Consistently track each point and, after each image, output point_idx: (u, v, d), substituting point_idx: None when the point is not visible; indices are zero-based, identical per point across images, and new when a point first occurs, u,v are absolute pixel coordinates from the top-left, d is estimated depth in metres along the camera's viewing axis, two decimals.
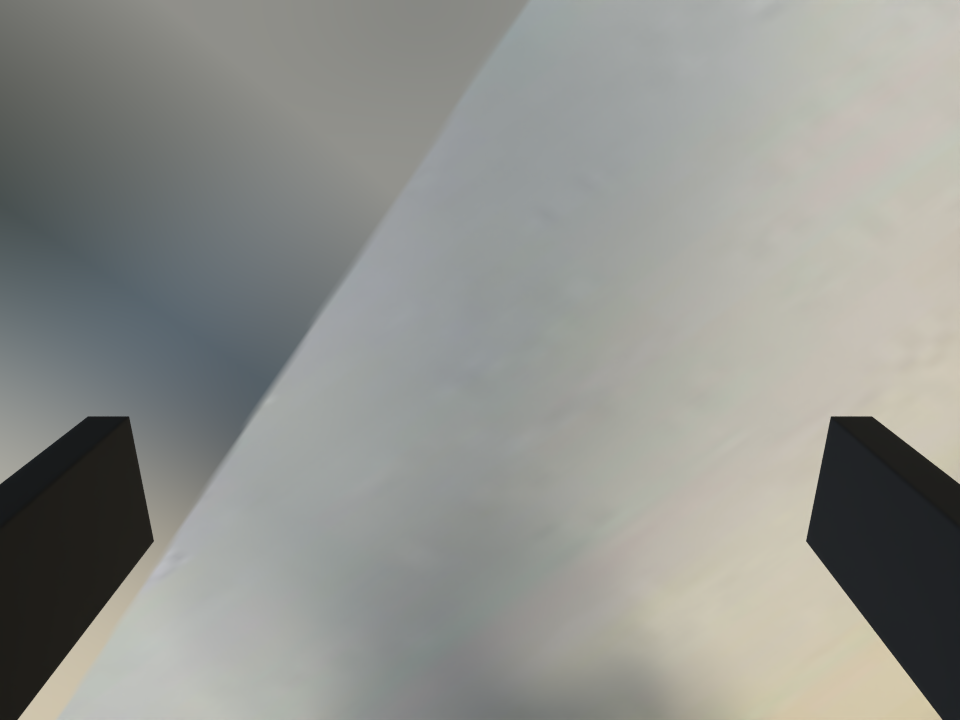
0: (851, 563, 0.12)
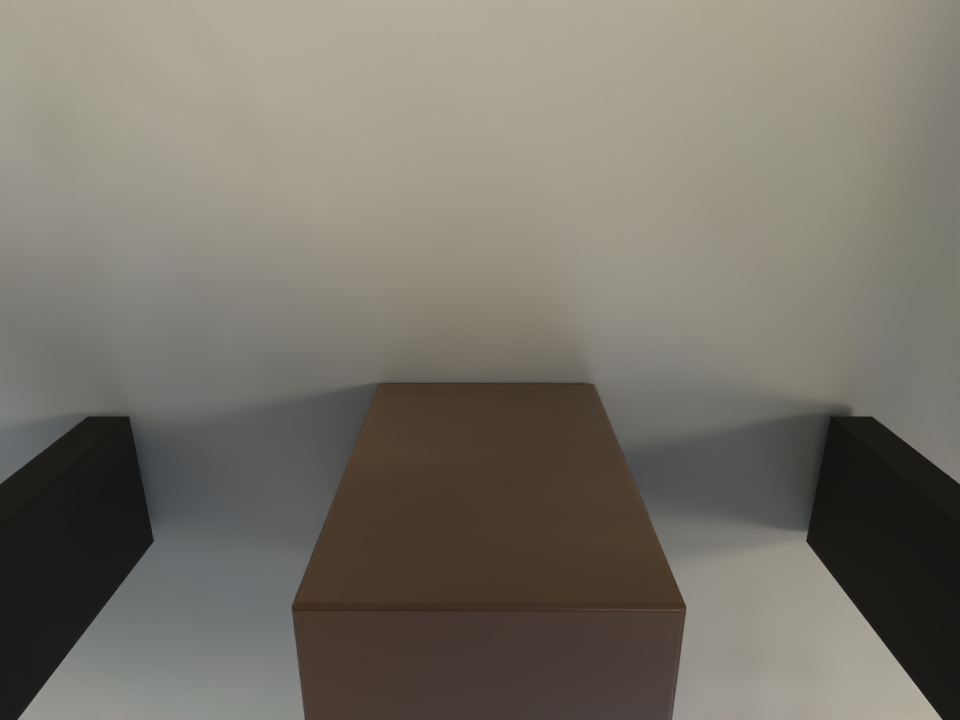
0: (851, 563, 0.12)
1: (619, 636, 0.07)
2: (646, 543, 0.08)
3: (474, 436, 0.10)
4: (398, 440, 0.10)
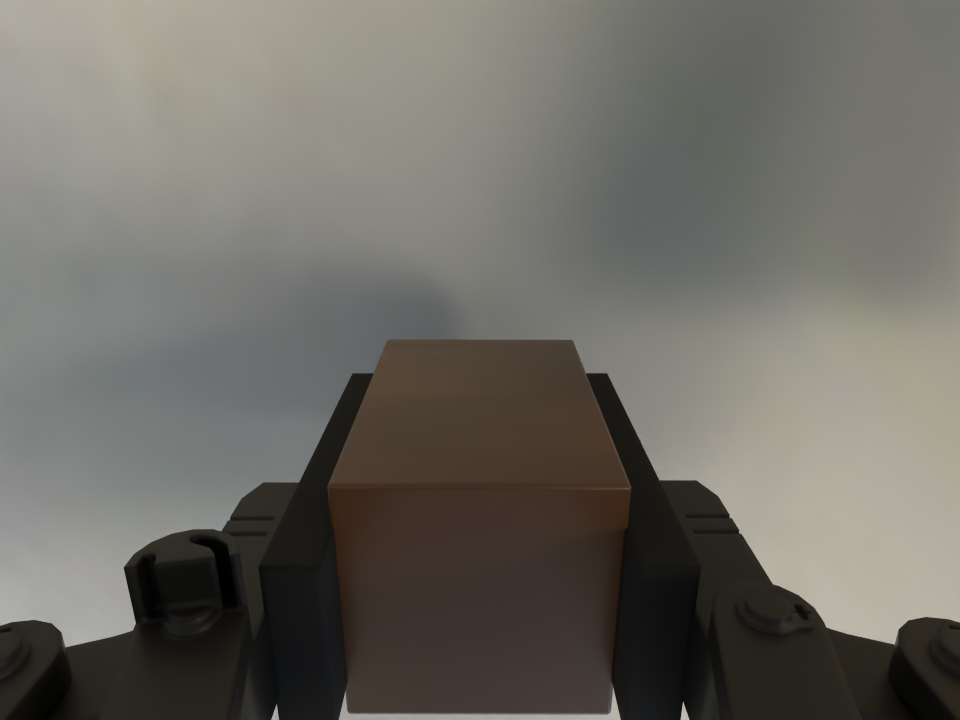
0: None
1: (579, 510, 0.09)
2: (604, 447, 0.10)
3: (469, 376, 0.12)
4: (405, 380, 0.12)
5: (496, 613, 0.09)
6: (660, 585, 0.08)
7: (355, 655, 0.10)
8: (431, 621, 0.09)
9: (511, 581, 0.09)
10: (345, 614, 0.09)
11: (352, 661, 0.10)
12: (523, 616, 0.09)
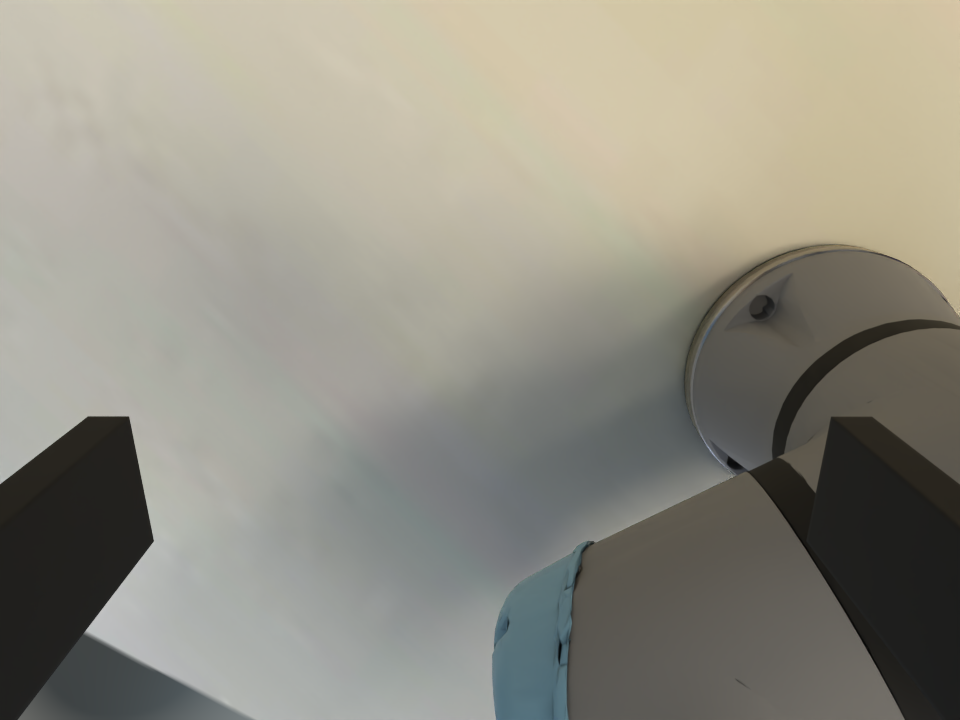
0: (851, 563, 0.12)
1: None
2: None
3: None
4: None
5: None
6: None
7: None
8: None
9: None
10: None
11: None
12: None
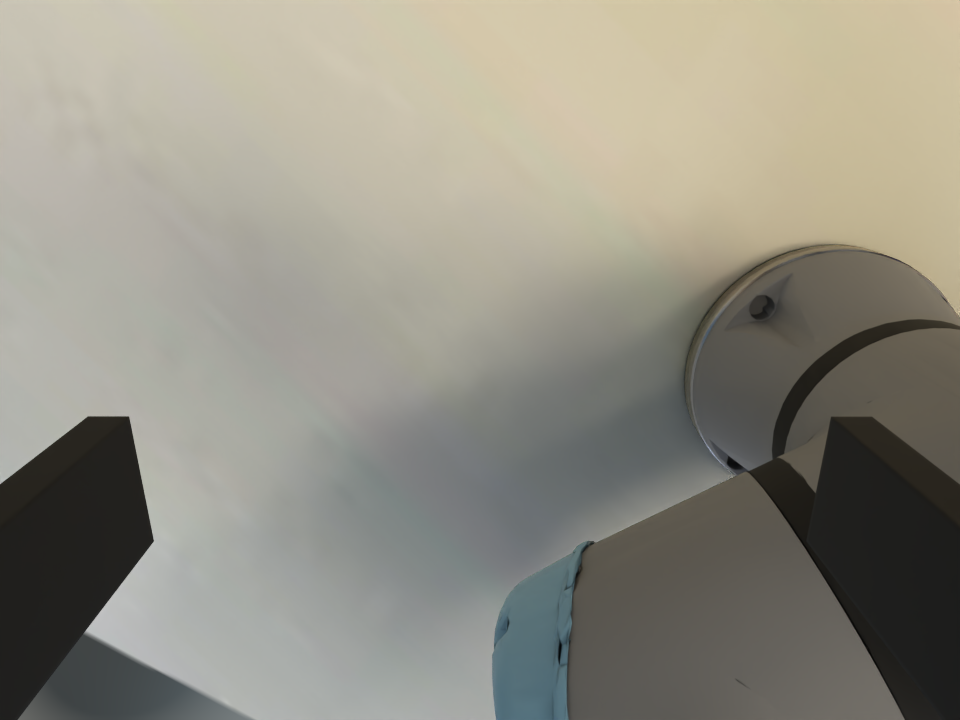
0: (851, 563, 0.12)
1: None
2: None
3: None
4: None
5: None
6: None
7: None
8: None
9: None
10: None
11: None
12: None
